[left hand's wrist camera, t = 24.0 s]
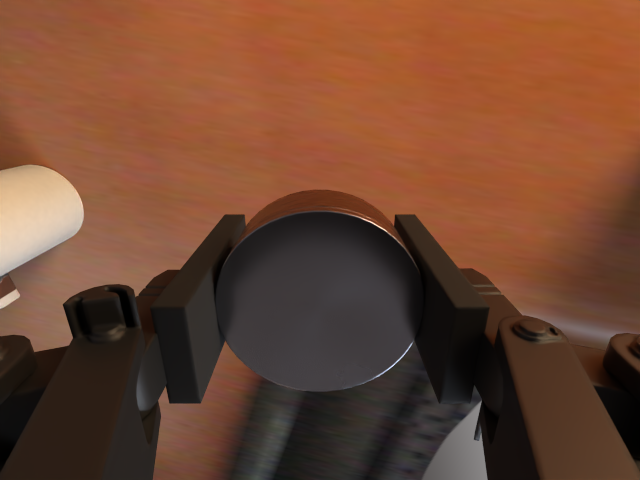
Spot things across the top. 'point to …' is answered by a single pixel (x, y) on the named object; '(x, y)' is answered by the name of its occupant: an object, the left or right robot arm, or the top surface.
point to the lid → (319, 292)
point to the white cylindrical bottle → (35, 213)
